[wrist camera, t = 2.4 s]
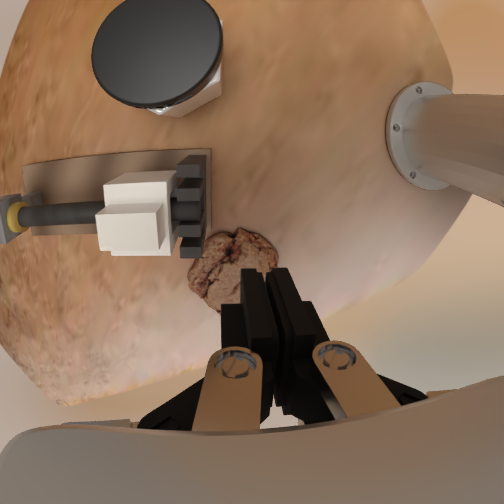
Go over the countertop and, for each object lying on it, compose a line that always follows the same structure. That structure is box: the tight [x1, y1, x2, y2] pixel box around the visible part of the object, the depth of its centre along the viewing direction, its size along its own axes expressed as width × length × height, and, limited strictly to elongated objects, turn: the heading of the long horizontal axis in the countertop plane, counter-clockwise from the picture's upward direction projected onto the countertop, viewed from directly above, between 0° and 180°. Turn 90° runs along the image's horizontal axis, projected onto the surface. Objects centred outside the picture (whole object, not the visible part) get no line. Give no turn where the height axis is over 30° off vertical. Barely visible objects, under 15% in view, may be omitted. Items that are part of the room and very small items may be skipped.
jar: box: [91, 0, 223, 118], centre depth 19 cm, size 9×8×12 cm
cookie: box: [187, 228, 278, 315], centre depth 32 cm, size 10×11×3 cm
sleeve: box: [95, 170, 180, 256], centre depth 21 cm, size 4×5×8 cm
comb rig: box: [0, 148, 211, 258], centre depth 24 cm, size 21×8×9 cm, turn 88°
